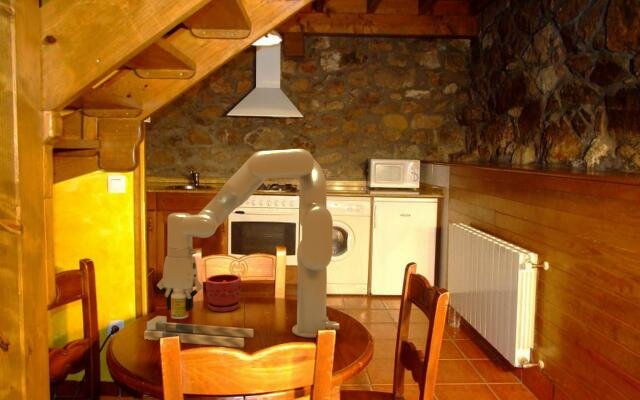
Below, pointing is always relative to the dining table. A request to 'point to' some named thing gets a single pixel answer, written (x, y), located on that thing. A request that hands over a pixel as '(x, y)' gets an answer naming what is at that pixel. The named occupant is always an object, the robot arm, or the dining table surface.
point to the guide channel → (160, 327)
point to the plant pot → (223, 292)
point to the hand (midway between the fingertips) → (179, 308)
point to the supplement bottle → (178, 304)
